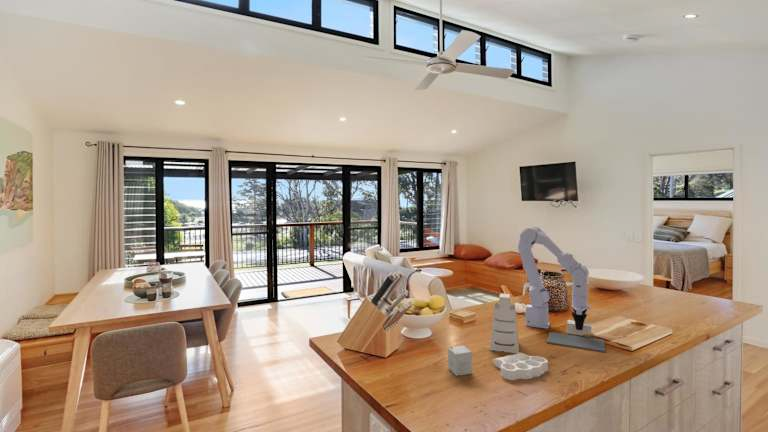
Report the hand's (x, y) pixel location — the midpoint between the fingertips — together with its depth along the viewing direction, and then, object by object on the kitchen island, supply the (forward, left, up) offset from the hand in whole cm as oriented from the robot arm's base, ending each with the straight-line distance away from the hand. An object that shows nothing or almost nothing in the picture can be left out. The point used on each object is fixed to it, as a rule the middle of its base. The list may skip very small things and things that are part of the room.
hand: (579, 326), depth 162 cm
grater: (-25, -29, -3) cm, 38 cm away
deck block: (0, 0, -3) cm, 3 cm away
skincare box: (-34, -57, -3) cm, 66 cm away
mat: (-1, -12, -3) cm, 12 cm away
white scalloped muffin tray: (-16, -47, -3) cm, 50 cm away
